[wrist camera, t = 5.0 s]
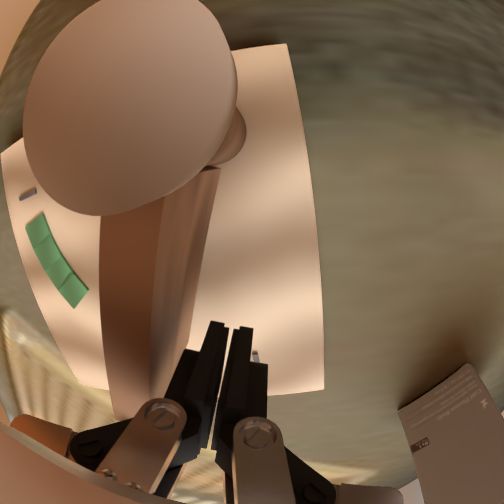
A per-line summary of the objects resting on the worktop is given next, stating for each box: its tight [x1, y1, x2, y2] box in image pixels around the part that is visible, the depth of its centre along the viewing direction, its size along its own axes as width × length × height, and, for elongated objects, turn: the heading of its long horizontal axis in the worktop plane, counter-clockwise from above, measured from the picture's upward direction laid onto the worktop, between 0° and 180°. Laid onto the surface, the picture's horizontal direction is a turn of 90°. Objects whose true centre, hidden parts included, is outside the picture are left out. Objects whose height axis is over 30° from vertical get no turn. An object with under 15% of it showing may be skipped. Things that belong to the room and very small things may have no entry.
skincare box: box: [398, 363, 504, 504], centre depth 11 cm, size 8×7×16 cm
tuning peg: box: [23, 0, 247, 421], centre depth 9 cm, size 16×4×9 cm, turn 166°
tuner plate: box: [1, 44, 324, 398], centre depth 15 cm, size 20×20×2 cm
